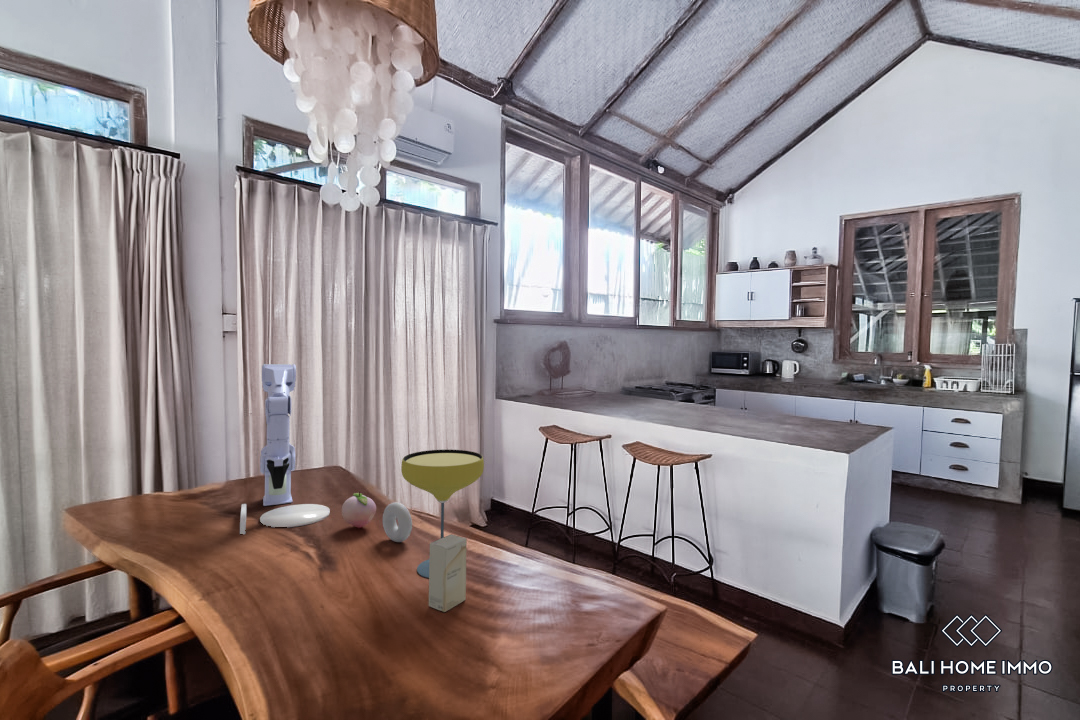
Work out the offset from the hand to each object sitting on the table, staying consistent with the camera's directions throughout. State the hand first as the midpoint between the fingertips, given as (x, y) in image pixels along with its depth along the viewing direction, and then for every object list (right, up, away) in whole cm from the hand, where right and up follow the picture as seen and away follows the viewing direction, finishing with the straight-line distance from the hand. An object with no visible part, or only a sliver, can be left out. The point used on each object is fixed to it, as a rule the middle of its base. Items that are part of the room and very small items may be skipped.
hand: (277, 486), depth 138 cm
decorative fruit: (+25, -10, -6) cm, 28 cm away
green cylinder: (0, -2, 0) cm, 2 cm away
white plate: (+4, -9, +3) cm, 11 cm away
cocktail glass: (+53, -11, -29) cm, 61 cm away
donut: (+38, -11, -14) cm, 42 cm away
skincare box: (+57, -11, -44) cm, 73 cm away
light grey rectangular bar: (-7, -9, -4) cm, 13 cm away
